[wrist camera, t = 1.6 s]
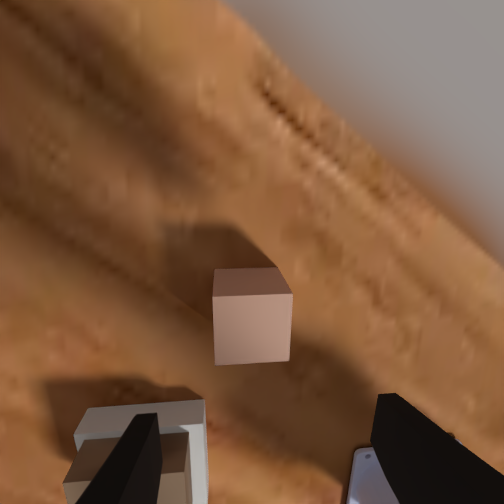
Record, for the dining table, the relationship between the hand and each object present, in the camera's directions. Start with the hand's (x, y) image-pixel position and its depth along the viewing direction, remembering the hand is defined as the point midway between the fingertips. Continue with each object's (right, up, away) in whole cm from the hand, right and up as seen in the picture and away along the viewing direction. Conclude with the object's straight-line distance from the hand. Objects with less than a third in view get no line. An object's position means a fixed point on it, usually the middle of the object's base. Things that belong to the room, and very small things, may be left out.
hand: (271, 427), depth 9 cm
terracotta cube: (-1, +3, +9) cm, 10 cm away
